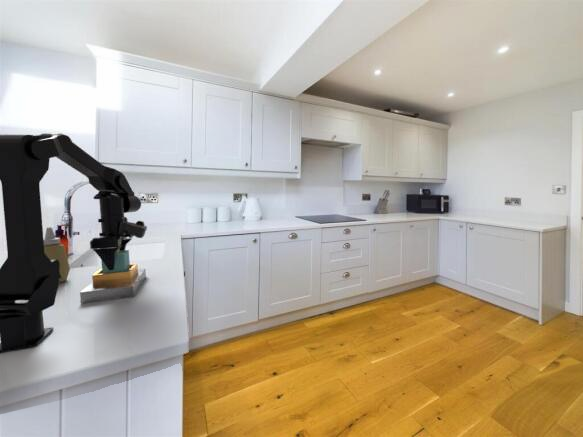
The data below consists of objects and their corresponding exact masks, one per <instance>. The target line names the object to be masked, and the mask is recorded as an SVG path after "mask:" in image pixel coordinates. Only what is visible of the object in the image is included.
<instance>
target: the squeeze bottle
mask: <svg viewBox="0 0 583 437" xmlns="http://www.w3.org/2000/svg"><path fill="white" fill-rule="evenodd" d="M43 240H44V252H45V254H46V256H47V257H48V258H49V259H50V260H58V261H59V263H60V267H59V272H60V275H61V279H59V284H60V283H63V282H65V281H67V280H68V276H69V273H70V271H71V268H70V263H69V260H68V255H67V250H66V245H64V244H62V243H61V242H62V241H61V238H60V237H56V234H55V233H54V229H53V227H49V226H48V227H46V230H45V235H44V238H43Z"/></svg>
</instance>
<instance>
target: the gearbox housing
mask: <svg viewBox="0 0 583 437" xmlns="http://www.w3.org/2000/svg"><path fill="white" fill-rule="evenodd" d="M138 267H139V266H138V263H130V269H129V271H125V272H114V273H104V274H102V267H101V268H99V270H97V271H96V272H95V273H93V274H92V275H91V278H92V282H90V283H89V284H88V285H86V286H85V288H84V289H82V290H81V291H79V295H80V304H86V303H87V304H88V303H94V302H101V301H103V302H104V301H109V300H116V299H118V300H119V299H125V298H131V297H135V295H136V294H137V292H138V290H139V289H140V287H141V285H142V284H143V283H144V281H143V280H145V279H146V277H147V276H146V275H147V274H146V273H147V272H146V268H145V267H143V268H138ZM144 278H145V279H144Z"/></svg>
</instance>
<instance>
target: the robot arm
mask: <svg viewBox="0 0 583 437" xmlns="http://www.w3.org/2000/svg"><path fill="white" fill-rule="evenodd" d="M52 158H57V159H58V160H60V161H62V162H63V163H65V164H67V165H68V166H69V167H71V168H73V169H74V170H76V171H78V173H80V174H81V175H83V176H85V177H86V178H87V179H88V184H90V185H91V186H92V187H93V188H94V189H96V190H97V191H98V192H97V193H96V194H95V195H94V196H93V199H94V200H98V201H99V213H100V214H99V215H100V218H98V220H97V222H98V223H100V225H101V226H100V227H101V232H99V233H98V234H99V235H97V236H95V237H93V238H92V239H91V240H90V242H89V249H91V250H92V252H95V253H96V255H97V256H98V258H100V260H102V261H103V262H104V264H105V265H106V267H107V268H108V270H114V265H115V257H116V251H117V250H118V249H119V251H123V250H126V247H127V245H128V244H129V242H130V241H132V240H133V237H136V238H137V239H143V237H145V234H146V232H147V229H148V227H147V225H145V222H144V221H142V220H137V221H136V222H135V223H134V222H129V220H128V217H127V216H125V214H127V213H135V212H138V211H139V210H140V209H141V208H142V201H141V199H140V197H138V196H136V195H135V191H133V189H132V187H131V185H130V183H129V181H128V179H127V177H126V176H125V174H124V173H123V172H122V171H120V170H117V169H116V168H113V167H109V166H107V165H104V164H102V163H101V162H100V161H98V160H97V159H95V158H94V157H93V156H92V155H90V154H89V153H88V152H86V150H84V149H83V148H81V147H80V146H78V145H77V144H76V143H74V142H73V140H72V139H71V138H70V136H69V135H68V134H67V135H66V134H63V133H54V132H53V133H51V132H50V133H40V134H37V135H36V134H35V135H33V134H0V182H1V192H2V204H3V215H4V217H3V218H4V225H5V226H4V227H5V228H4V229H5V238H6V240H5V241H6V249H7V250H6V251H7V257H6V259H5V261H4V262H3V264H2V265H1V266H0V353H3V352H2V351H4V352H8V350H10V351H14V350H15V351H16V350H22V349H26V348H27V349H28V348H34V347H37V346H38V345H39V344H40V343H42V342H43V340H44V339H46V337H48V335H49V334H51V333H52V332H53V331H54V326H51V327H45V323H44V315H43V311H45V310H47V309H49V308H51V307H53V306H54V305H55V303H56V296H57V293H58V287H59V286H60V283H59V279H61V275H60V272H59V267H60V263H59V261H58V260H50V259H49V258H48V257H47V256H46V254H45V252H44V240H43V239H44V230H43V229H44V228H43V215H42V204H41V203H42V202H41V201H42V200H41V191H40V190H41V188H40V184H41V183H40V182H41V181H42V180H43V178H44V177H45V175H46V174H47V173H48V171H49V169H50V159H52ZM102 261H101V262H102ZM16 301H26V302H16Z"/></svg>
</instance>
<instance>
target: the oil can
mask: <svg viewBox="0 0 583 437" xmlns="http://www.w3.org/2000/svg"><path fill="white" fill-rule="evenodd" d="M100 260H101V259H100ZM130 264H131V263H130V251H129V249H125V250H123V251H119V249H118V250H117V251H116V257H115V265H114V270H108V268H107V267H106V265H105V264H104V262H103V261H102V260H101V268H102V274H104V273H114V272H125V271H129V269H130Z"/></svg>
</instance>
